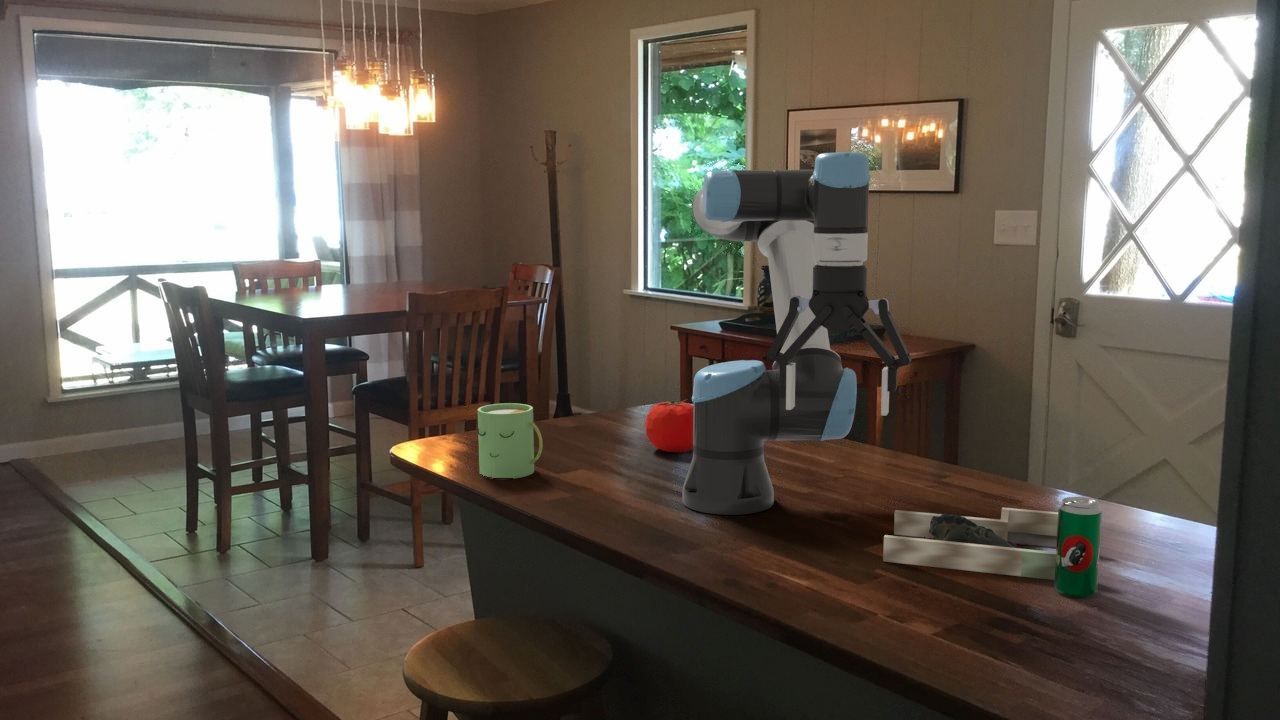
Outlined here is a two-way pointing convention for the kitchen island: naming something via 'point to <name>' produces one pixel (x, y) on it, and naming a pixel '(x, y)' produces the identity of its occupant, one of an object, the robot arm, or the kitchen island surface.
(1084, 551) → the soda can
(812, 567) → the kitchen island surface
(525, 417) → the mug
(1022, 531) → the channel
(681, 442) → the tomato
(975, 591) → the kitchen island surface
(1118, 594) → the kitchen island surface
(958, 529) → the stone
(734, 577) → the kitchen island surface
